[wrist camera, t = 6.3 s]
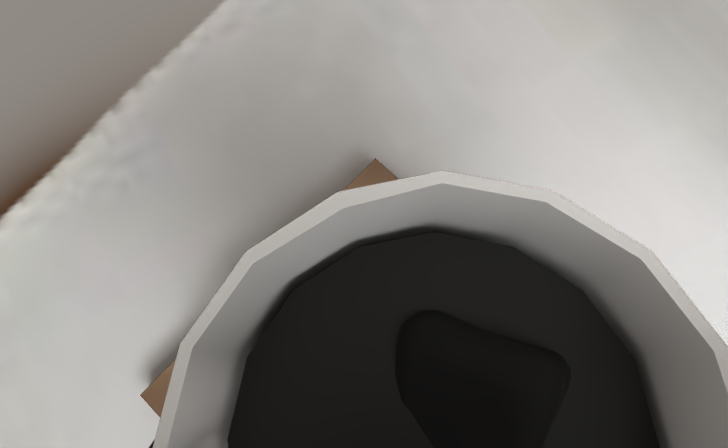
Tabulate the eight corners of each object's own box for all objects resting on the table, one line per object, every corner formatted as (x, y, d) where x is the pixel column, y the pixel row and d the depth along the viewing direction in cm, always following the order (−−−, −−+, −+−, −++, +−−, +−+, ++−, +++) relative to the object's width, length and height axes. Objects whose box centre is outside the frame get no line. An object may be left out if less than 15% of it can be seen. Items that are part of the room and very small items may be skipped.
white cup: (352, 237, 17) (297, 93, 7) (567, 324, 16) (840, 298, 6) (259, 454, 16) (40, 639, 6) (485, 560, 15) (661, 978, 5)
